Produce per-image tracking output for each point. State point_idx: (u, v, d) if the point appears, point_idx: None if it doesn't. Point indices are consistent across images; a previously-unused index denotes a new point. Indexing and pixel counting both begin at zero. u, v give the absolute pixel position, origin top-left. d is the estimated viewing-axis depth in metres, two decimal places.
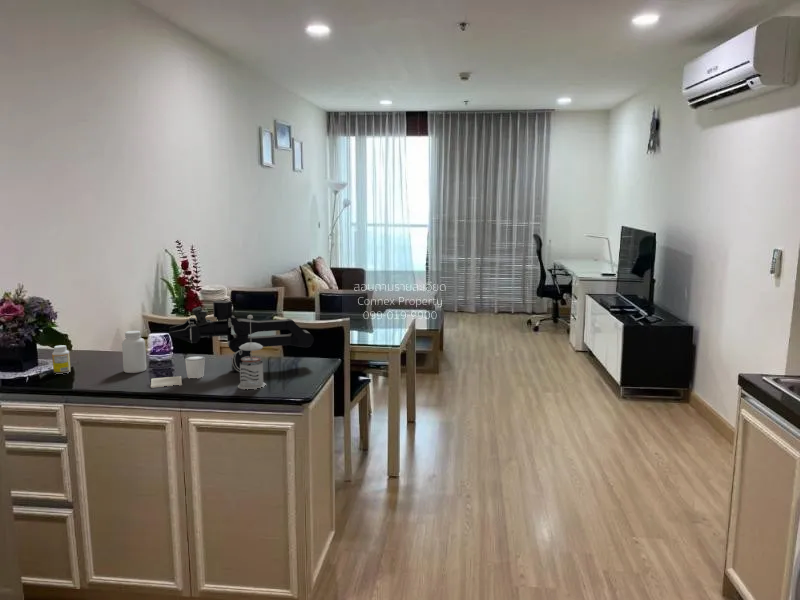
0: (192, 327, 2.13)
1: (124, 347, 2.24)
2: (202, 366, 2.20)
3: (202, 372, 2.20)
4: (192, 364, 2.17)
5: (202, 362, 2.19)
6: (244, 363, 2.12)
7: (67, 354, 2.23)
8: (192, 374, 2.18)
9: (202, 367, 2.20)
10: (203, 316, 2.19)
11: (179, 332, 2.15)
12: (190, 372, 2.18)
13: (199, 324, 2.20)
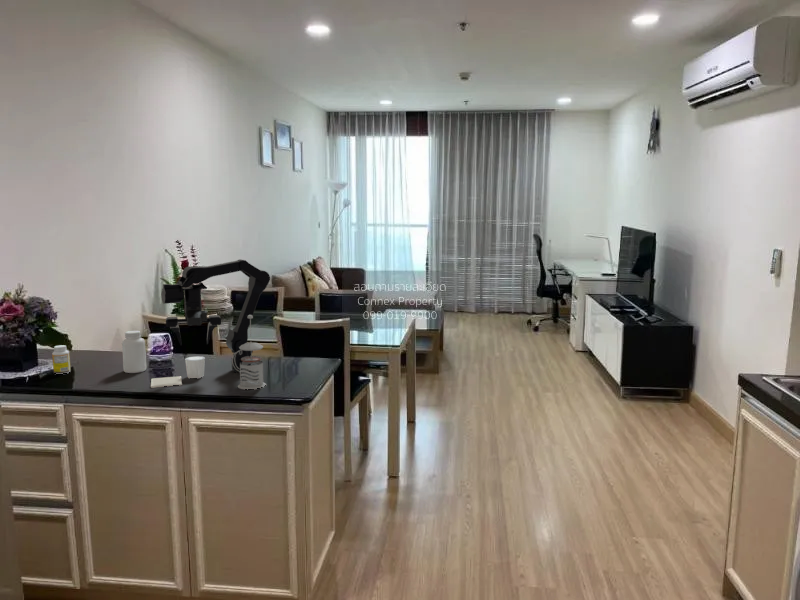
0: (220, 323, 2.19)
1: (124, 347, 2.24)
2: (202, 366, 2.20)
3: (202, 372, 2.20)
4: (192, 364, 2.17)
5: (202, 362, 2.19)
6: (244, 363, 2.12)
7: (67, 354, 2.23)
8: (192, 374, 2.18)
9: (202, 367, 2.20)
10: None
11: None
12: (190, 372, 2.18)
13: None
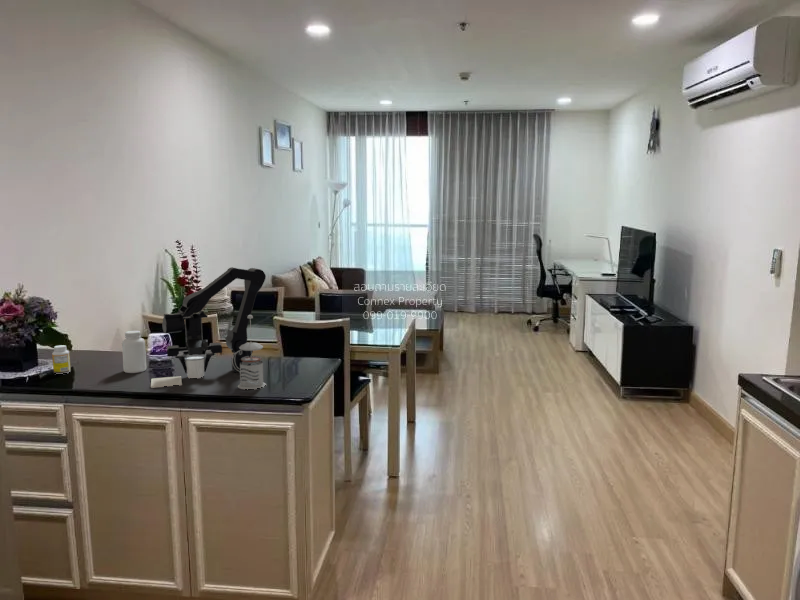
0: (221, 351, 2.21)
1: (124, 347, 2.24)
2: (202, 366, 2.20)
3: (202, 372, 2.20)
4: (192, 364, 2.17)
5: (202, 362, 2.19)
6: (244, 363, 2.12)
7: (67, 354, 2.23)
8: (192, 374, 2.18)
9: (202, 367, 2.20)
10: None
11: None
12: (190, 372, 2.18)
13: None
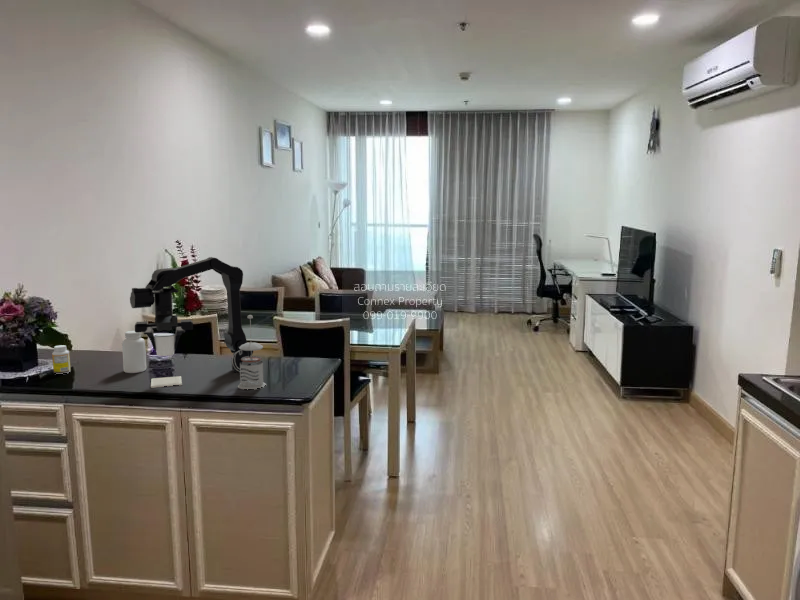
0: (192, 328, 2.11)
1: (124, 347, 2.24)
2: (172, 343, 2.10)
3: (172, 349, 2.11)
4: (161, 341, 2.08)
5: (172, 339, 2.10)
6: (244, 363, 2.12)
7: (67, 354, 2.23)
8: (161, 351, 2.09)
9: (172, 344, 2.10)
10: None
11: (178, 340, 2.12)
12: (159, 349, 2.09)
13: None
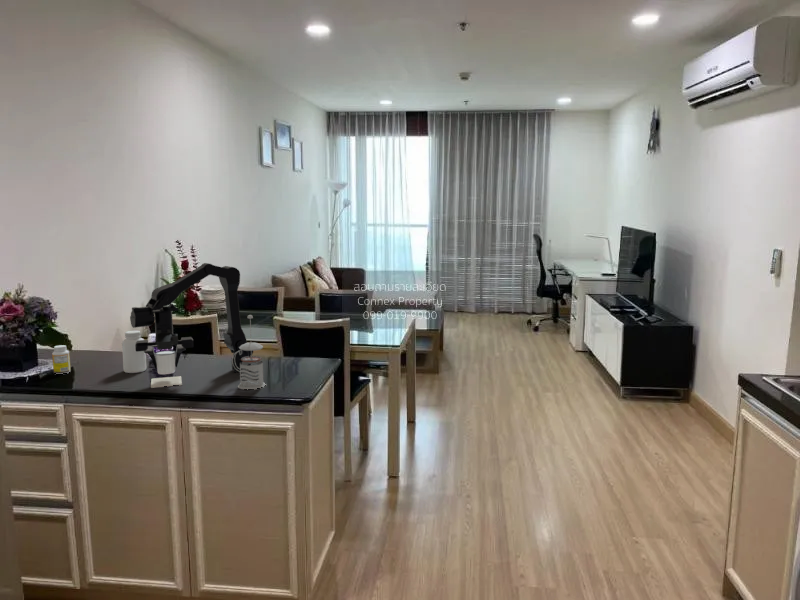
0: (193, 346, 2.12)
1: (124, 347, 2.24)
2: (173, 361, 2.11)
3: (173, 367, 2.11)
4: (162, 359, 2.09)
5: (173, 357, 2.11)
6: (244, 363, 2.12)
7: (67, 354, 2.23)
8: (162, 369, 2.09)
9: (173, 362, 2.11)
10: None
11: (179, 357, 2.13)
12: (160, 367, 2.09)
13: None
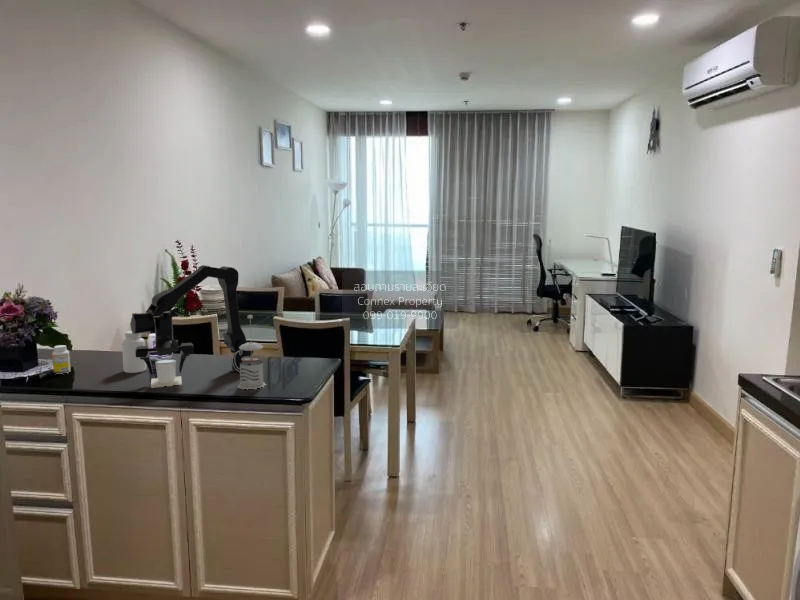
0: (193, 352, 2.12)
1: (124, 347, 2.24)
2: (173, 370, 2.11)
3: (173, 376, 2.12)
4: (162, 368, 2.09)
5: (173, 365, 2.11)
6: (244, 363, 2.12)
7: (67, 354, 2.23)
8: (162, 378, 2.10)
9: (173, 371, 2.11)
10: None
11: None
12: (160, 376, 2.10)
13: None
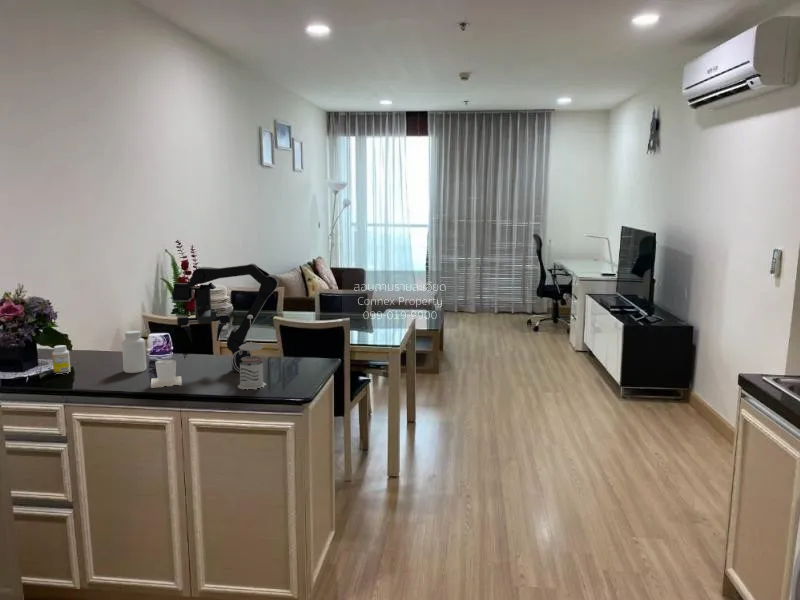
0: (229, 321, 2.28)
1: (124, 347, 2.24)
2: (173, 370, 2.11)
3: (173, 376, 2.12)
4: (162, 368, 2.09)
5: (173, 366, 2.11)
6: (244, 363, 2.12)
7: (67, 354, 2.23)
8: (162, 378, 2.10)
9: (173, 371, 2.11)
10: None
11: None
12: (160, 376, 2.10)
13: None
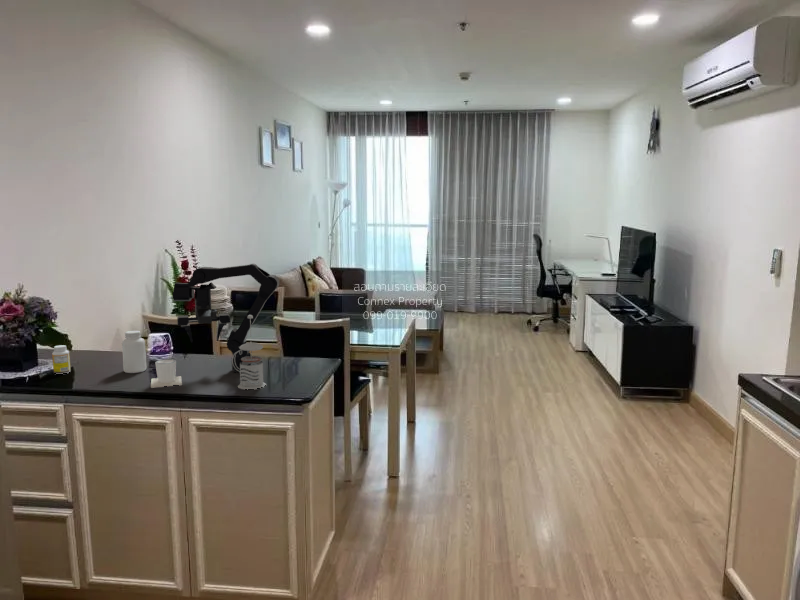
0: (229, 321, 2.28)
1: (124, 347, 2.24)
2: (173, 370, 2.11)
3: (173, 376, 2.12)
4: (162, 368, 2.09)
5: (173, 366, 2.11)
6: (244, 363, 2.12)
7: (67, 354, 2.23)
8: (162, 378, 2.10)
9: (173, 371, 2.11)
10: None
11: None
12: (160, 376, 2.10)
13: None
